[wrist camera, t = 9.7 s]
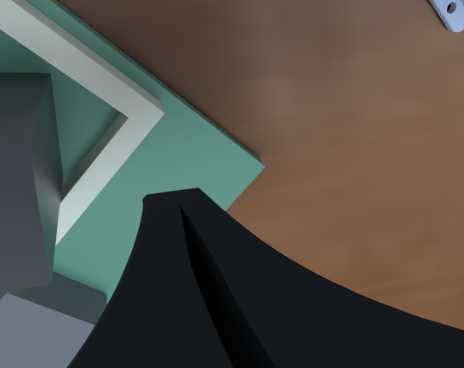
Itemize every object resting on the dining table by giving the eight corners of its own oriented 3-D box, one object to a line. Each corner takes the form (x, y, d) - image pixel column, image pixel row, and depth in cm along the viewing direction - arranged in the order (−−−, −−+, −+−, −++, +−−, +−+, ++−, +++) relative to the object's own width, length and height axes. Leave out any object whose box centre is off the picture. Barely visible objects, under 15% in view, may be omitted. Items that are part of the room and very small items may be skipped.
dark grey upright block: (47, 51, 16) (24, 117, 10) (65, 191, 19) (54, 304, 13) (-43, 49, 15) (-126, 120, 9) (-10, 196, 18) (-58, 319, 12)
